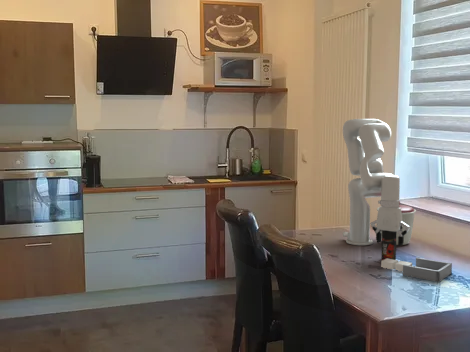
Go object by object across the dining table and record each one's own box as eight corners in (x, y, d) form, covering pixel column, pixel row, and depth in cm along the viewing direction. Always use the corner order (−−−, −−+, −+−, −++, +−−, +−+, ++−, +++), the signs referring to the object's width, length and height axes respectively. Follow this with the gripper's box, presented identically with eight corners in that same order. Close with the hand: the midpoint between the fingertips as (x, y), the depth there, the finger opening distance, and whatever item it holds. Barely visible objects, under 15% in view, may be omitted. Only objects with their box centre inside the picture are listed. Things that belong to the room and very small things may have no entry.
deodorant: (397, 259, 234) (398, 225, 232) (393, 262, 228) (394, 227, 227) (383, 257, 237) (384, 223, 235) (379, 260, 231) (380, 226, 230)
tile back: (381, 268, 222) (381, 260, 221) (386, 265, 225) (387, 258, 225) (392, 270, 218) (392, 263, 218) (398, 267, 222) (398, 260, 222)
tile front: (395, 270, 217) (395, 263, 217) (400, 267, 221) (400, 260, 221) (407, 273, 214) (408, 265, 214) (412, 270, 218) (412, 262, 218)
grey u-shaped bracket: (402, 275, 211) (403, 265, 210) (416, 266, 222) (416, 257, 221) (438, 282, 202) (439, 271, 202) (451, 273, 213) (451, 263, 212)
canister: (418, 248, 251) (419, 203, 249) (378, 247, 254) (379, 203, 252) (411, 239, 269) (413, 197, 267) (374, 238, 272) (375, 196, 269)
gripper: (367, 203, 232) (366, 242, 234) (406, 207, 221) (405, 248, 223) (375, 201, 238) (374, 239, 240) (413, 204, 227) (412, 244, 228)
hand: (389, 243), depth 231 cm, fingers open, 9 cm apart
